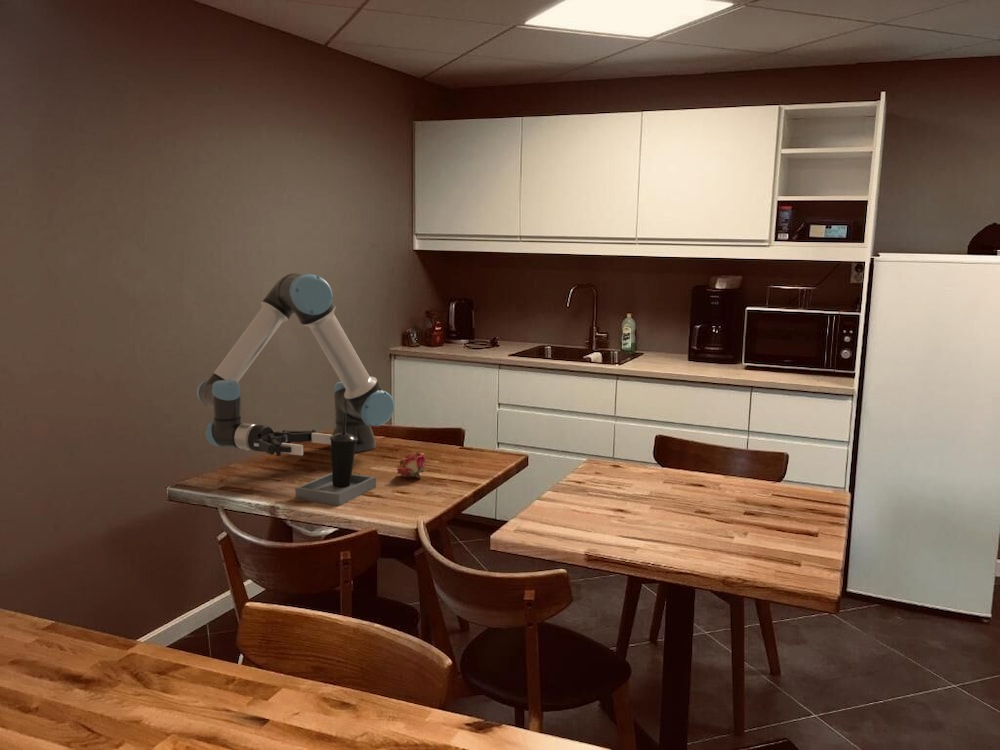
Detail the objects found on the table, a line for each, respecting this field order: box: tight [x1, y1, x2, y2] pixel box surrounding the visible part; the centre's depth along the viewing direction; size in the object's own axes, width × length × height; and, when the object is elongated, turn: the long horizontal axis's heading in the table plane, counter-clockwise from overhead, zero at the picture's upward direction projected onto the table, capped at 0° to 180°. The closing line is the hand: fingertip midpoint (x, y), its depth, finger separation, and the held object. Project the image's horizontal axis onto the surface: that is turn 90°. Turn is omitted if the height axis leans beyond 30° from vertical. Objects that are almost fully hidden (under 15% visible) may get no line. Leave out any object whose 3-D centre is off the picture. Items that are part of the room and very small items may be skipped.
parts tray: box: [294, 472, 377, 506], centre depth 219 cm, size 18×14×3 cm
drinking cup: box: [330, 415, 358, 487], centre depth 222 cm, size 8×8×20 cm
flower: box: [396, 451, 427, 480], centre depth 234 cm, size 10×9×8 cm
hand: (317, 444), depth 220 cm, fingers open, 13 cm apart
